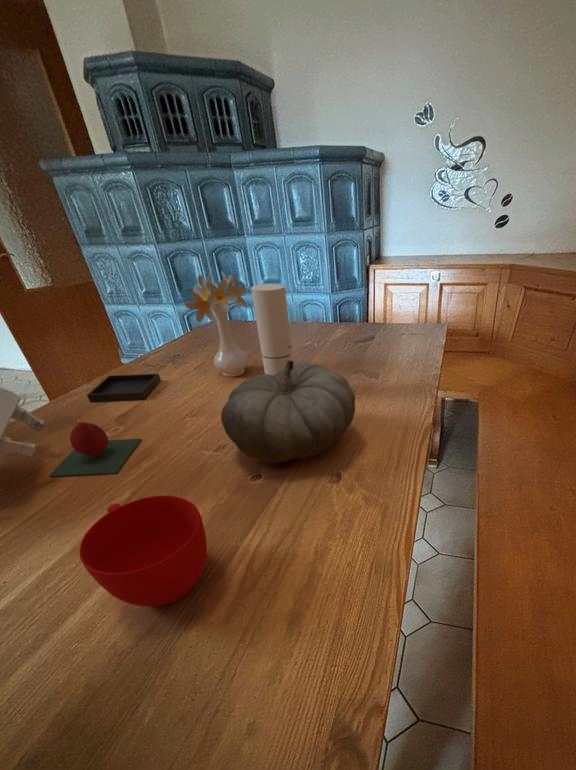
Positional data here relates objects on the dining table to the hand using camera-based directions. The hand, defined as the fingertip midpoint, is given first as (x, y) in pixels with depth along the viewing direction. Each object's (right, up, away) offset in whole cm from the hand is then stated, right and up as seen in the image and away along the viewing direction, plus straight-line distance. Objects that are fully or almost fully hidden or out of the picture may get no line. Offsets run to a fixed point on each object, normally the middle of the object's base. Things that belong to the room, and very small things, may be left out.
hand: (39, 438), depth 69 cm
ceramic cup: (+31, -21, -17) cm, 41 cm away
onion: (+7, -3, +6) cm, 9 cm away
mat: (+7, -3, +6) cm, 10 cm away
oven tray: (-3, +16, +31) cm, 35 cm away
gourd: (+44, -1, +9) cm, 45 cm away
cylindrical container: (+38, +14, +28) cm, 50 cm away
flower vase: (+22, +23, +40) cm, 51 cm away
